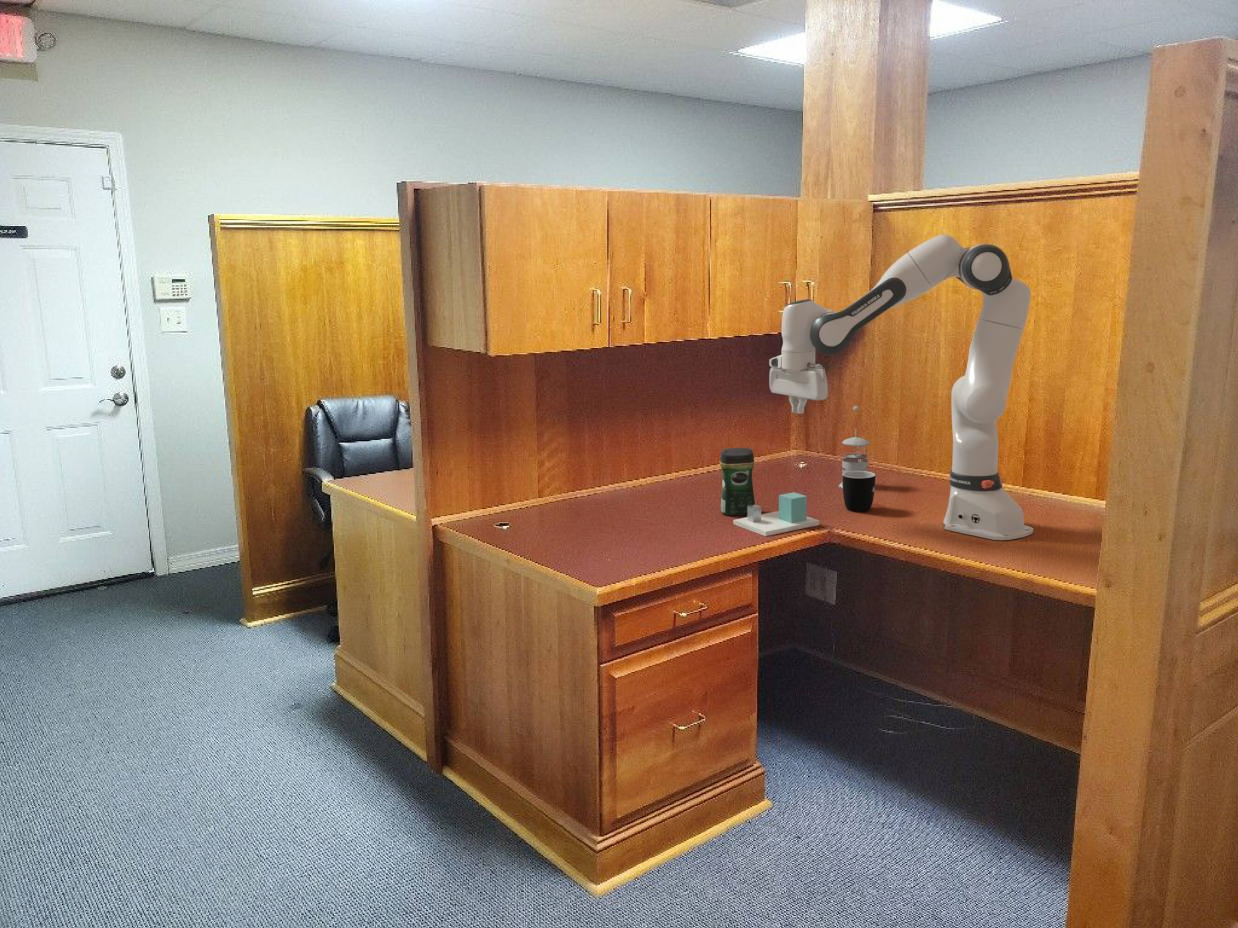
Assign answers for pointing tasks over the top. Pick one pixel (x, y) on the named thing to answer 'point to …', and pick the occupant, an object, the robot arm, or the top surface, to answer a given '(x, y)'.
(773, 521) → the board
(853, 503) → the mug
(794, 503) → the turquoise block
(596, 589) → the top surface
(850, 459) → the french press
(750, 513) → the post
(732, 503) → the coffee jar
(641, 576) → the top surface
